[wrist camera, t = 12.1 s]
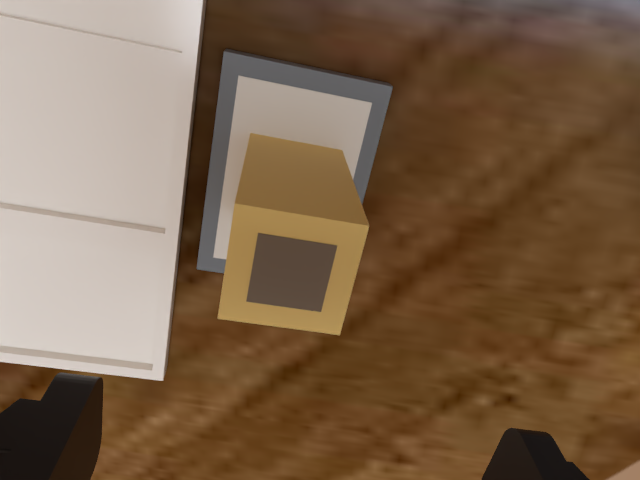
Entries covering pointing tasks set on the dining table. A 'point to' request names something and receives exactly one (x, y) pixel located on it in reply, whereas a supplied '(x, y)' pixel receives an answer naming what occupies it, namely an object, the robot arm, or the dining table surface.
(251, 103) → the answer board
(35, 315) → the white panel
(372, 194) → the dining table surface
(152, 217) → the dish mid
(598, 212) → the dining table surface
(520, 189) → the dining table surface
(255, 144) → the tan rectangular block
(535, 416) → the dining table surface
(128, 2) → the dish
